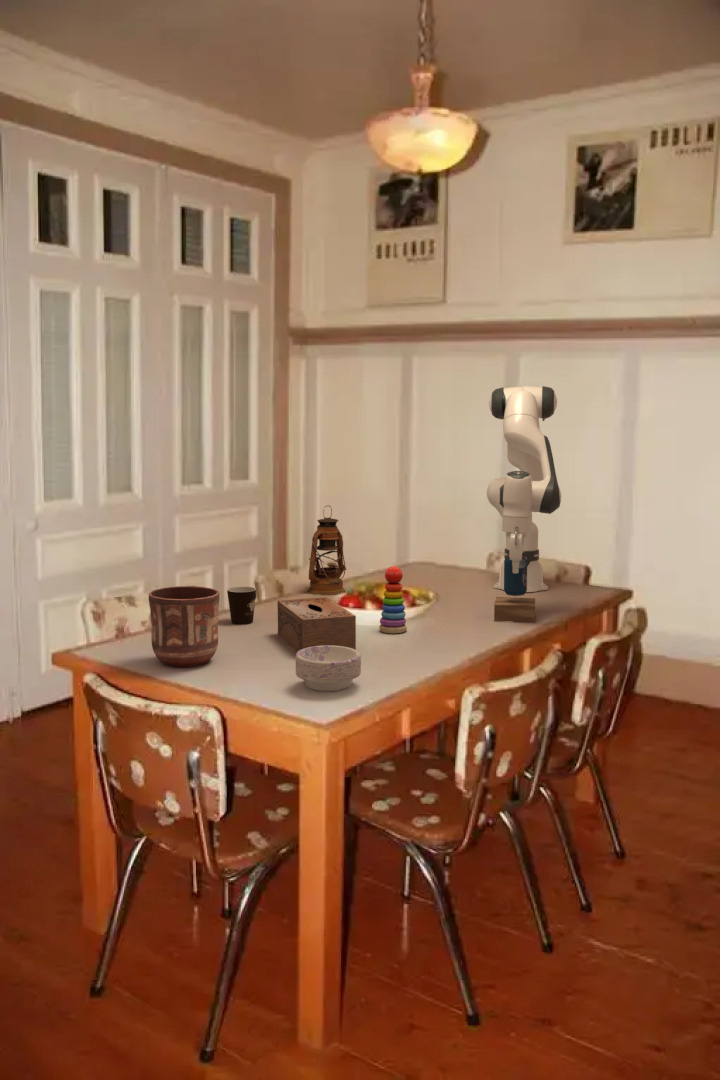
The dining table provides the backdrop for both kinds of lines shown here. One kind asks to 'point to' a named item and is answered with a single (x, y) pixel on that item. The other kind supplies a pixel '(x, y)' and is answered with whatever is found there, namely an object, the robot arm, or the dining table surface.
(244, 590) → the coffee mug
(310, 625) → the tissue box cover
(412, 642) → the dining table surface
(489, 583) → the dining table surface
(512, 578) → the soda can
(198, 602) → the pottery
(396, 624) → the stacking toy
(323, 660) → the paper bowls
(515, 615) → the block
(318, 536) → the lantern
